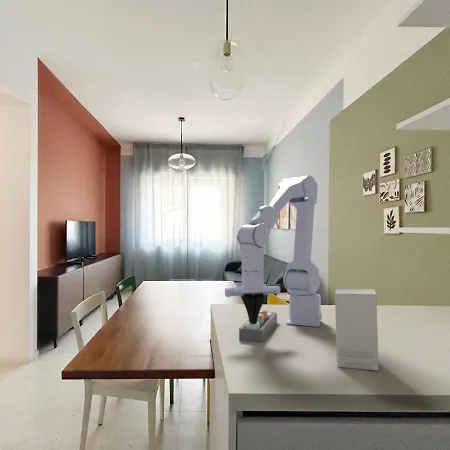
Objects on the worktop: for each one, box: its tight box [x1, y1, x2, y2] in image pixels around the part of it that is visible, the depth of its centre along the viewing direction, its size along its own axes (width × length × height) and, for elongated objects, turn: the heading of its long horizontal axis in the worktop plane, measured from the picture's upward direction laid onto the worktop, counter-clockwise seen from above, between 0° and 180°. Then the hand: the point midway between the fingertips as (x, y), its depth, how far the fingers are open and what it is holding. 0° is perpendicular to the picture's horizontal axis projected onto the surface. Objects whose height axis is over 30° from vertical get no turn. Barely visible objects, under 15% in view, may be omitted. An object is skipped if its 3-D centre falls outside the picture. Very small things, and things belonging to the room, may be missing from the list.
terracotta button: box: [259, 309, 269, 321], centre depth 102 cm, size 4×4×3 cm
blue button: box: [245, 321, 260, 330], centre depth 93 cm, size 4×4×3 cm
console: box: [238, 311, 278, 343], centre depth 100 cm, size 6×20×3 cm, turn 161°
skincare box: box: [334, 287, 380, 372], centre depth 75 cm, size 8×7×16 cm
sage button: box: [257, 314, 264, 325], centre depth 97 cm, size 4×4×3 cm
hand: (252, 323), depth 93 cm, fingers closed, pressing on blue button
